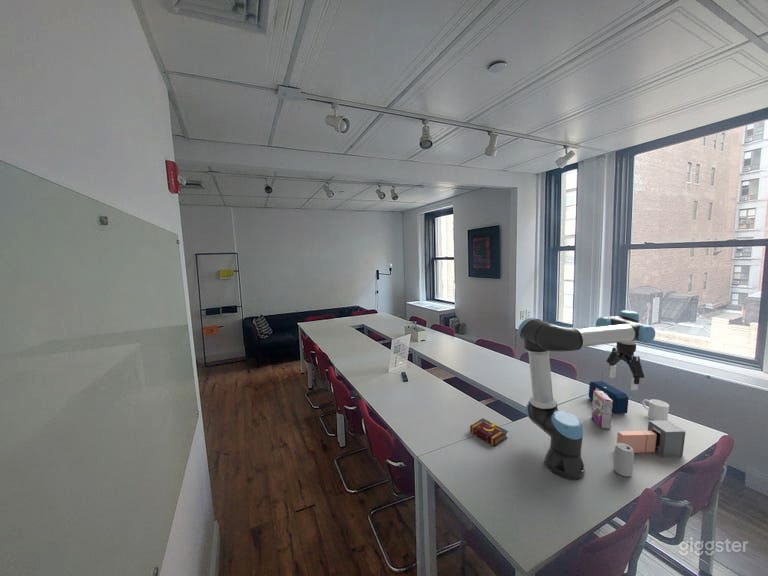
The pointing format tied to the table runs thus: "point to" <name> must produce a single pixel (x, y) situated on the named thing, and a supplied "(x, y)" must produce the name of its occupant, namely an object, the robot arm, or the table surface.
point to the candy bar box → (602, 409)
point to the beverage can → (623, 459)
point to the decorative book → (488, 432)
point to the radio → (611, 396)
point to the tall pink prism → (638, 440)
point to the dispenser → (668, 438)
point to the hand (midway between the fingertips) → (622, 383)
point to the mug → (657, 409)
